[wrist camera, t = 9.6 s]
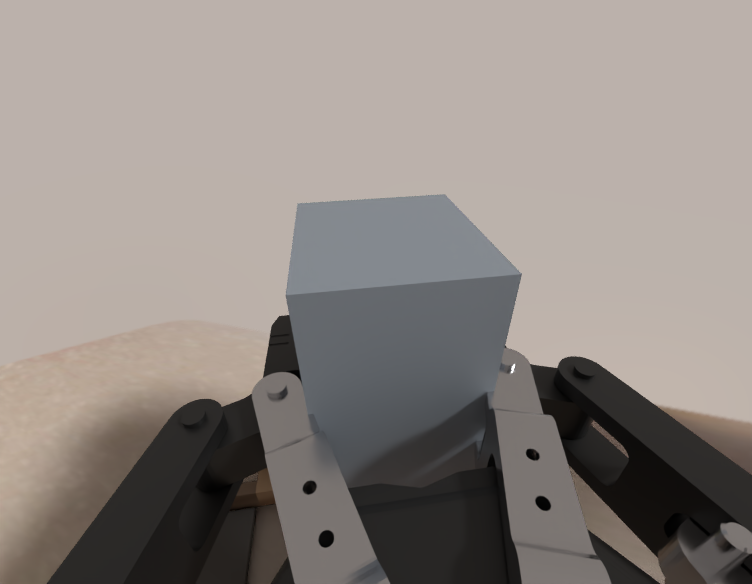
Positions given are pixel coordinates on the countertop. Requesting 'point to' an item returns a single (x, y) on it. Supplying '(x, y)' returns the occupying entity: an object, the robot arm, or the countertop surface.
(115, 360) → the countertop surface
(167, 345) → the countertop surface
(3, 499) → the countertop surface
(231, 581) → the trap bays
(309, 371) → the slate block
